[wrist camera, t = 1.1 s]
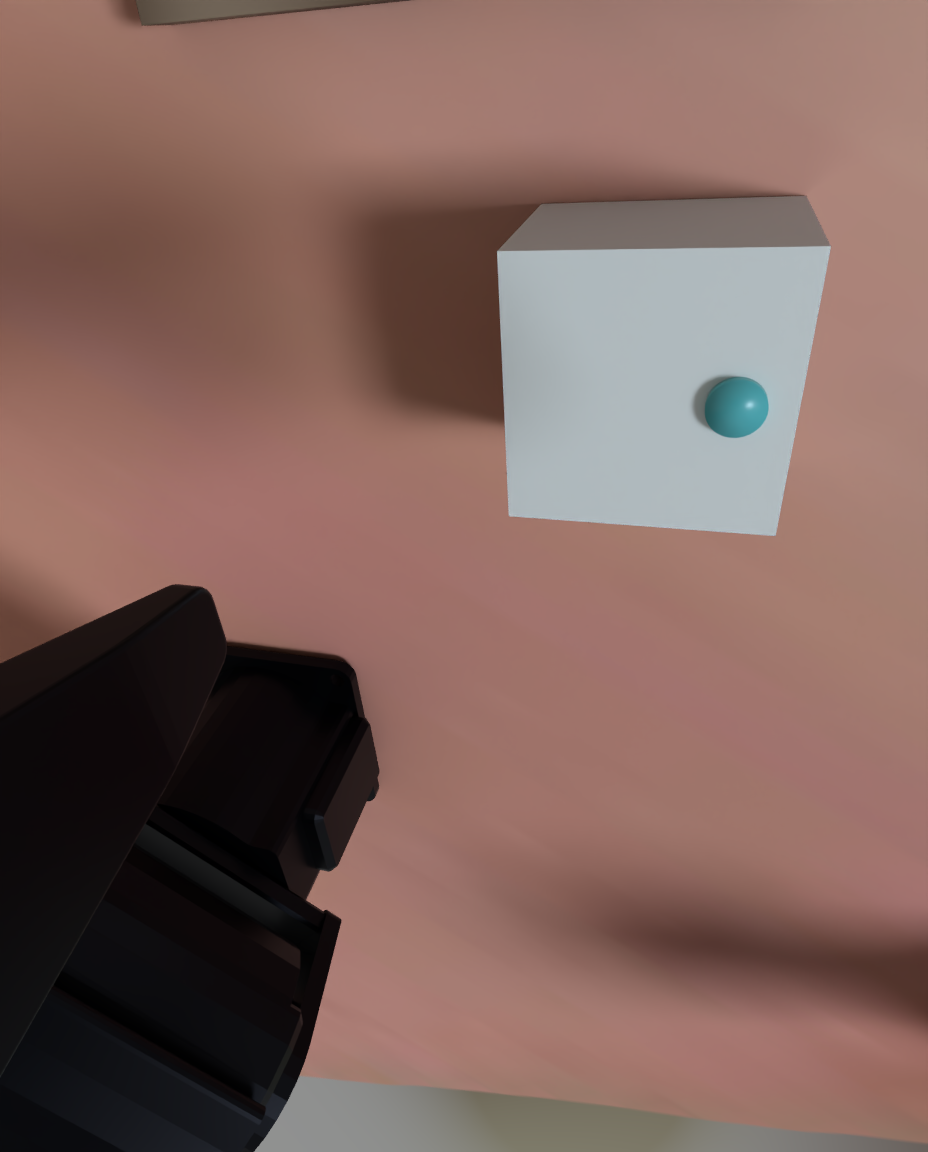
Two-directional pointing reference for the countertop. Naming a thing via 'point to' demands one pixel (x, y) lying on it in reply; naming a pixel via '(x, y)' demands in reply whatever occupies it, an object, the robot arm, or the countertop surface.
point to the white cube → (658, 359)
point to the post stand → (231, 9)
